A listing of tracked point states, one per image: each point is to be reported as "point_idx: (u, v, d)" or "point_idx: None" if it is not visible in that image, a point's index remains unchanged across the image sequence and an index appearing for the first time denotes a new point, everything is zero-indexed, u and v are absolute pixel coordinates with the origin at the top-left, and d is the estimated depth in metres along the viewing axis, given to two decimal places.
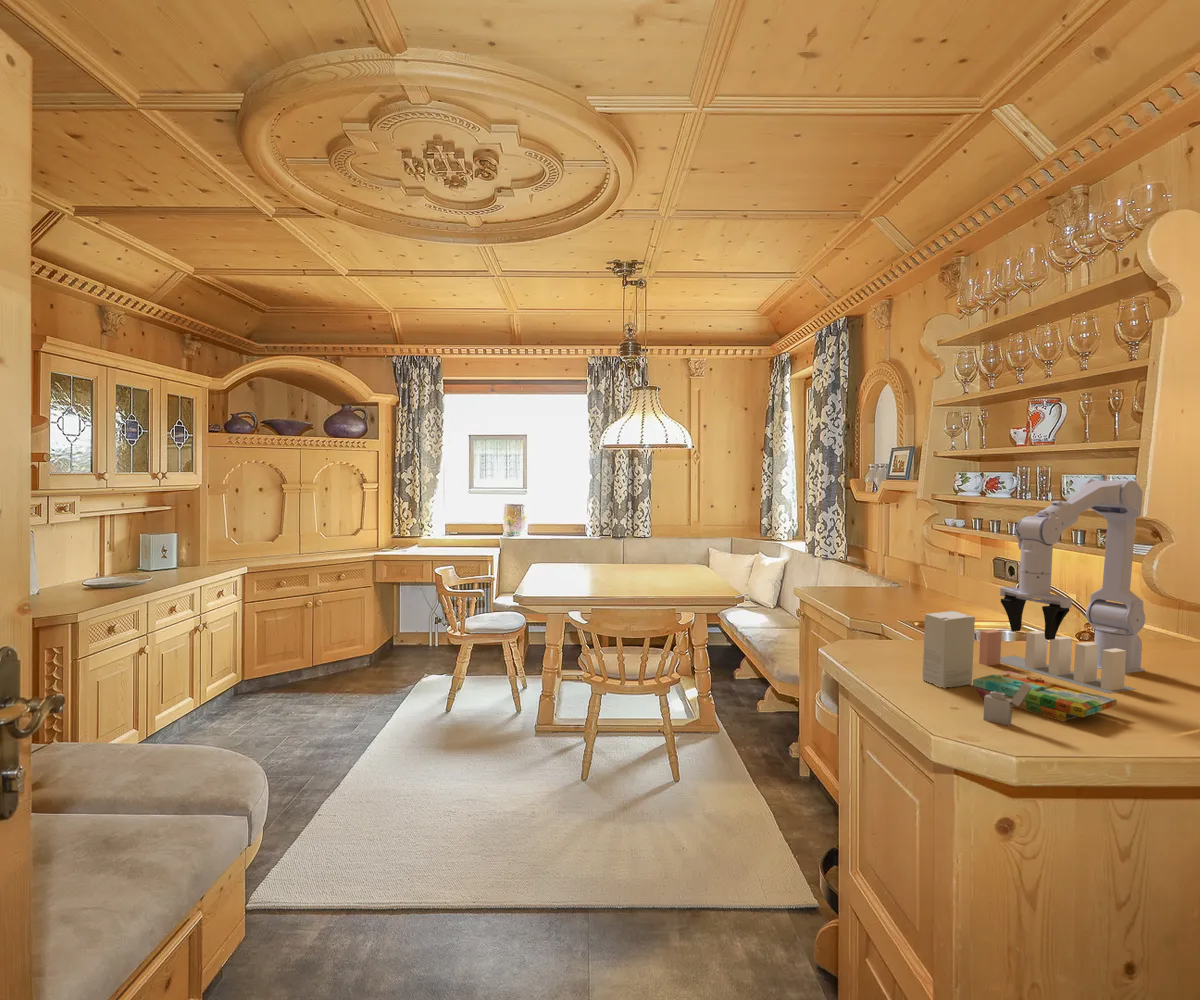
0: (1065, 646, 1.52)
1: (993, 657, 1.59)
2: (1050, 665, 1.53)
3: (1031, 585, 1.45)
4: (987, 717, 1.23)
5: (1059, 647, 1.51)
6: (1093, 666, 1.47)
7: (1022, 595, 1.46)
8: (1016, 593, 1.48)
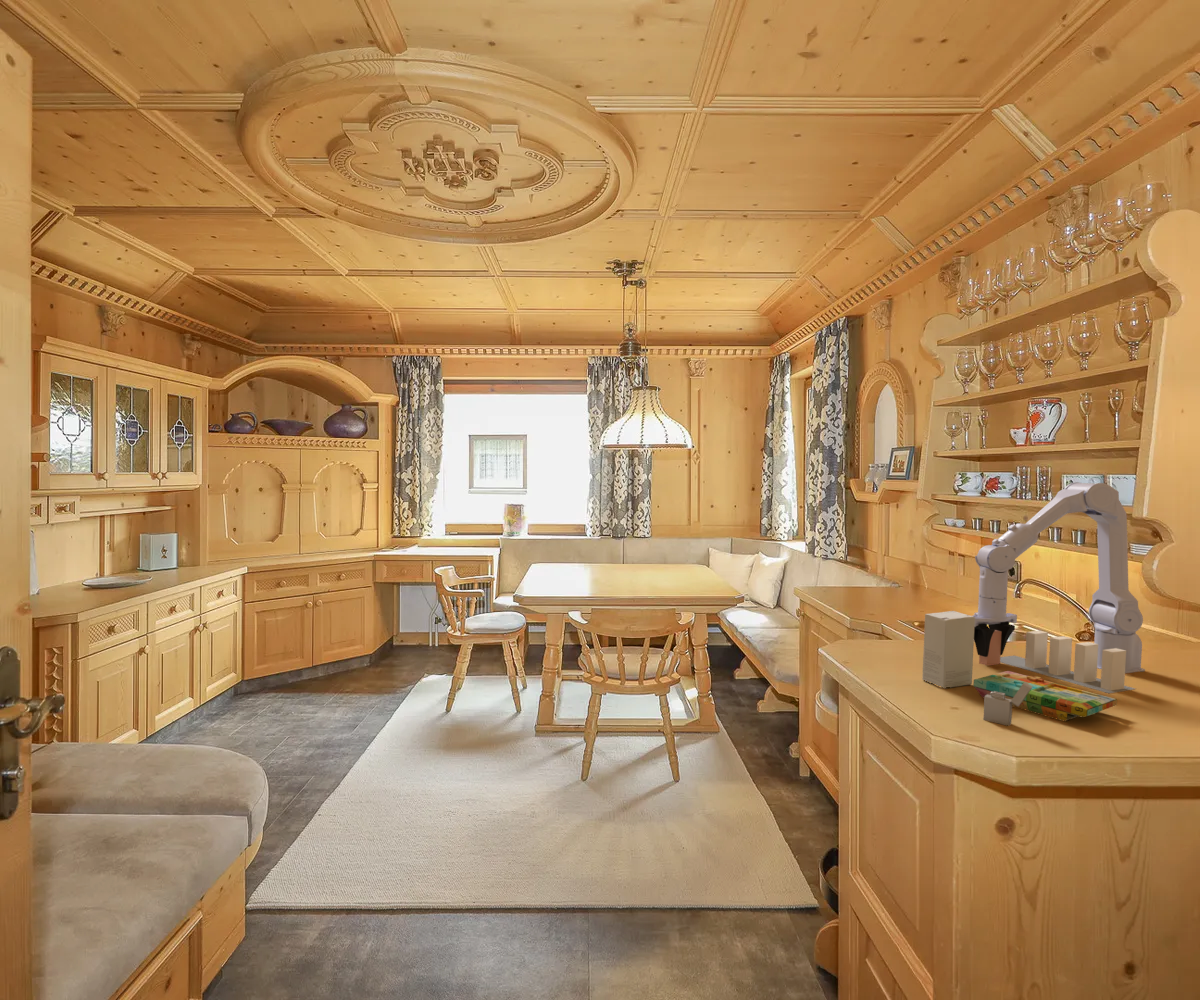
0: (1065, 646, 1.52)
1: (993, 657, 1.59)
2: (1050, 665, 1.53)
3: None
4: (987, 717, 1.23)
5: (1059, 647, 1.51)
6: (1093, 666, 1.47)
7: None
8: None
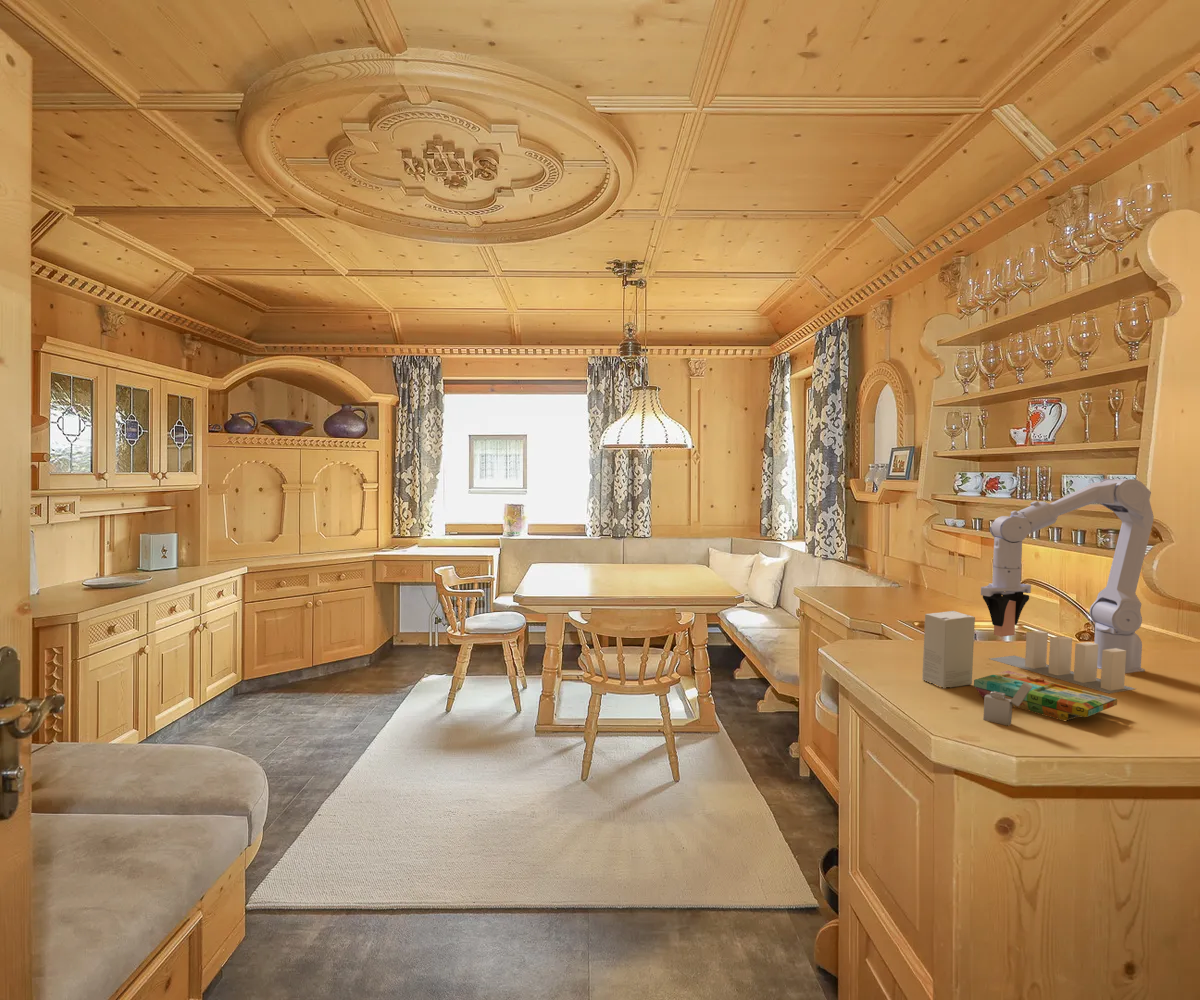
0: (1065, 646, 1.52)
1: (1008, 627, 1.60)
2: (1050, 665, 1.53)
3: None
4: (987, 717, 1.23)
5: (1059, 647, 1.51)
6: (1093, 666, 1.47)
7: None
8: None
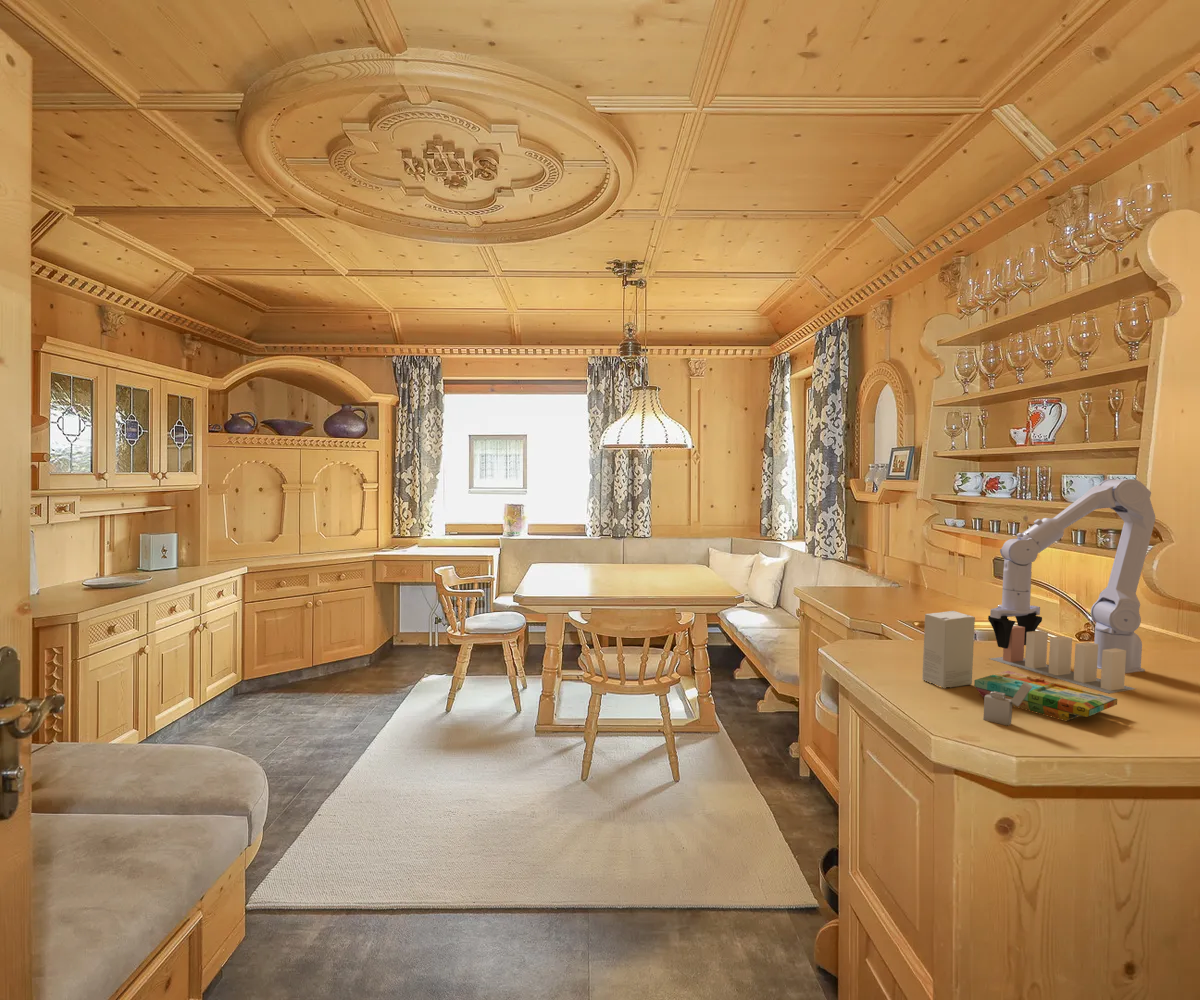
0: (1065, 646, 1.52)
1: (1017, 652, 1.62)
2: (1050, 665, 1.53)
3: None
4: (987, 717, 1.23)
5: (1059, 647, 1.51)
6: (1093, 666, 1.47)
7: None
8: None
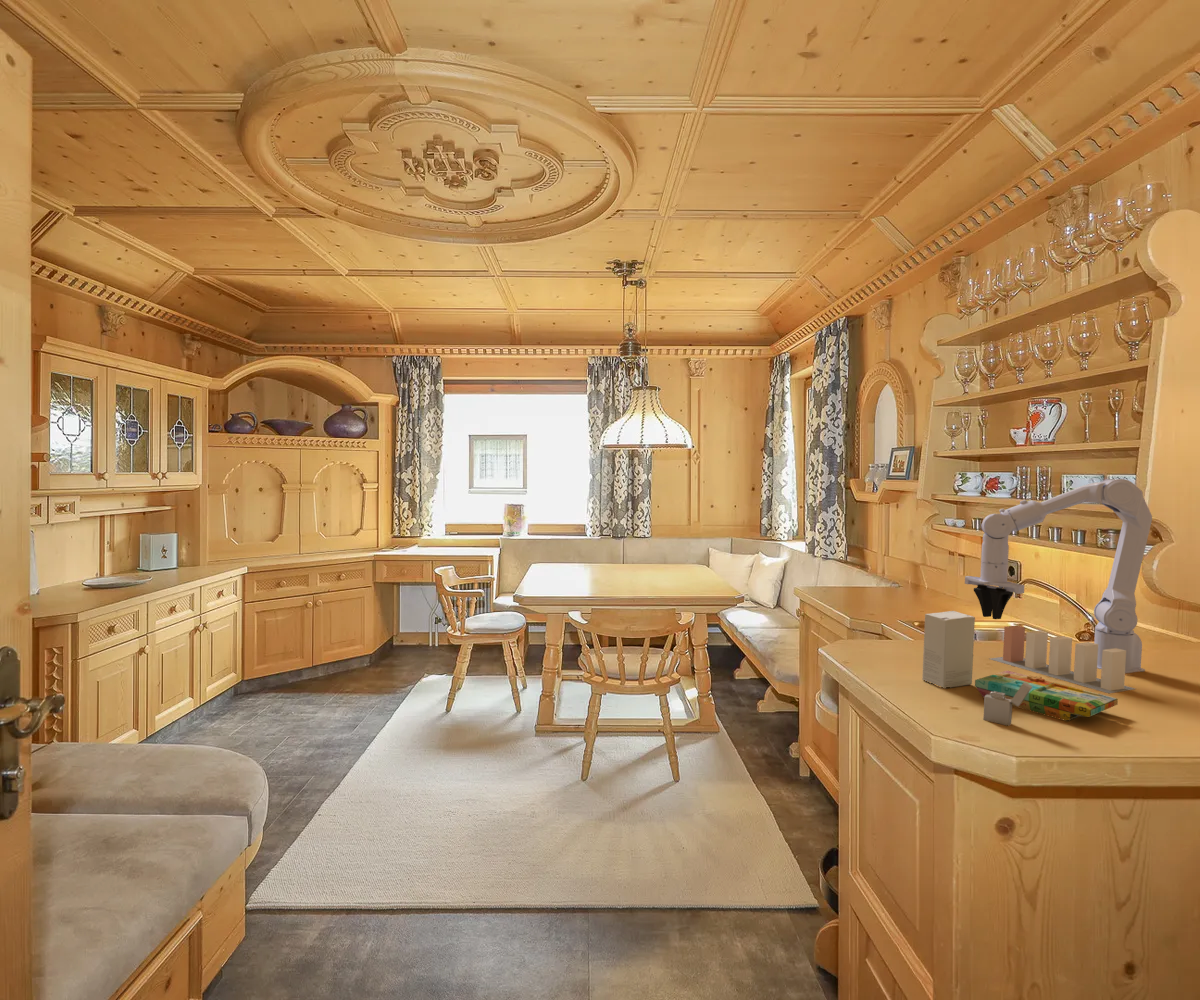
0: (1065, 646, 1.52)
1: (1017, 652, 1.62)
2: (1050, 665, 1.53)
3: (990, 574, 1.66)
4: (987, 717, 1.23)
5: (1059, 647, 1.51)
6: (1093, 666, 1.47)
7: (982, 582, 1.66)
8: (978, 581, 1.69)
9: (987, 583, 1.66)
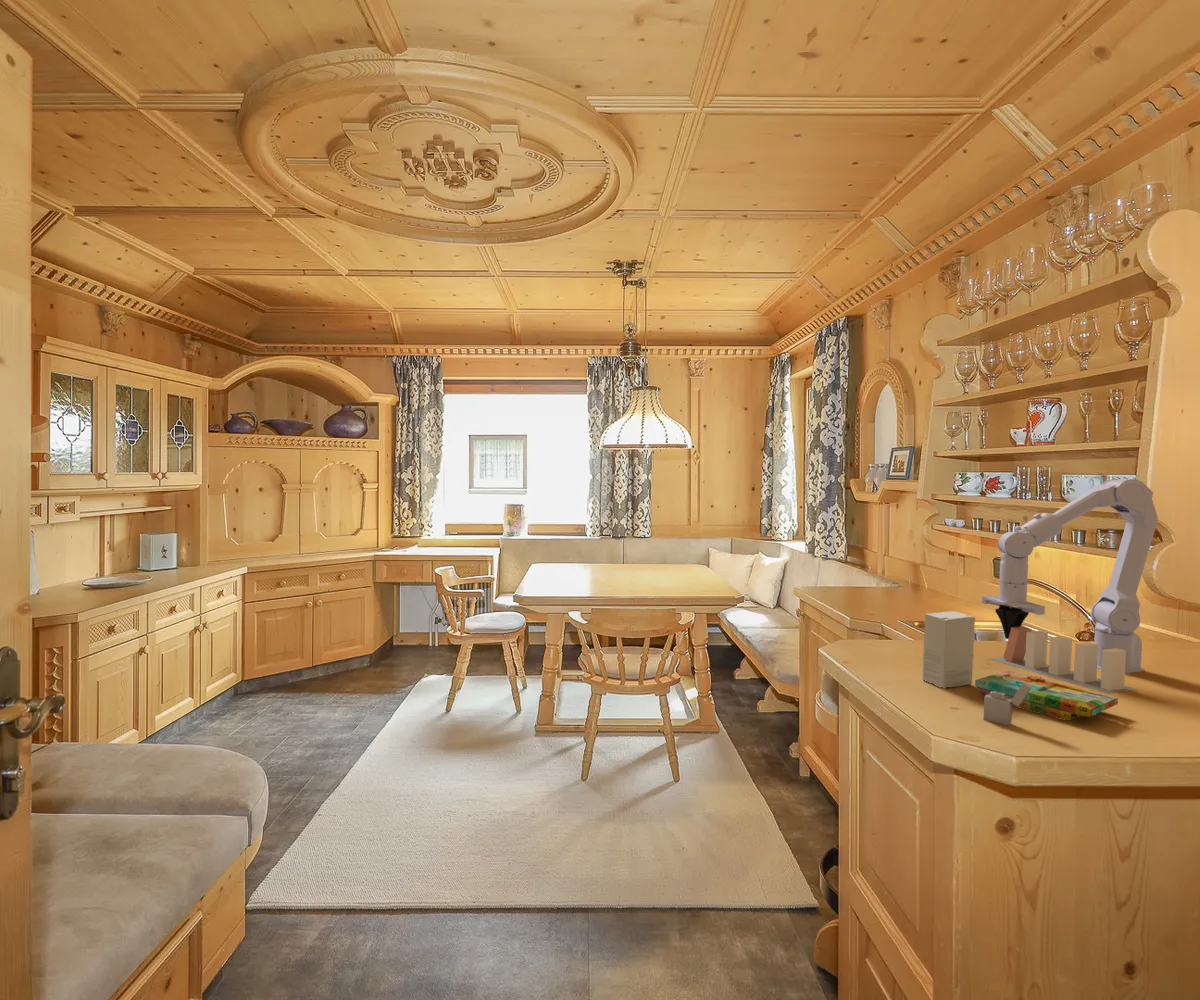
0: (1065, 646, 1.52)
1: (1019, 653, 1.62)
2: (1050, 665, 1.53)
3: (1009, 594, 1.61)
4: (987, 717, 1.23)
5: (1059, 647, 1.51)
6: (1093, 666, 1.47)
7: (1001, 603, 1.62)
8: (996, 601, 1.65)
9: (1006, 603, 1.61)
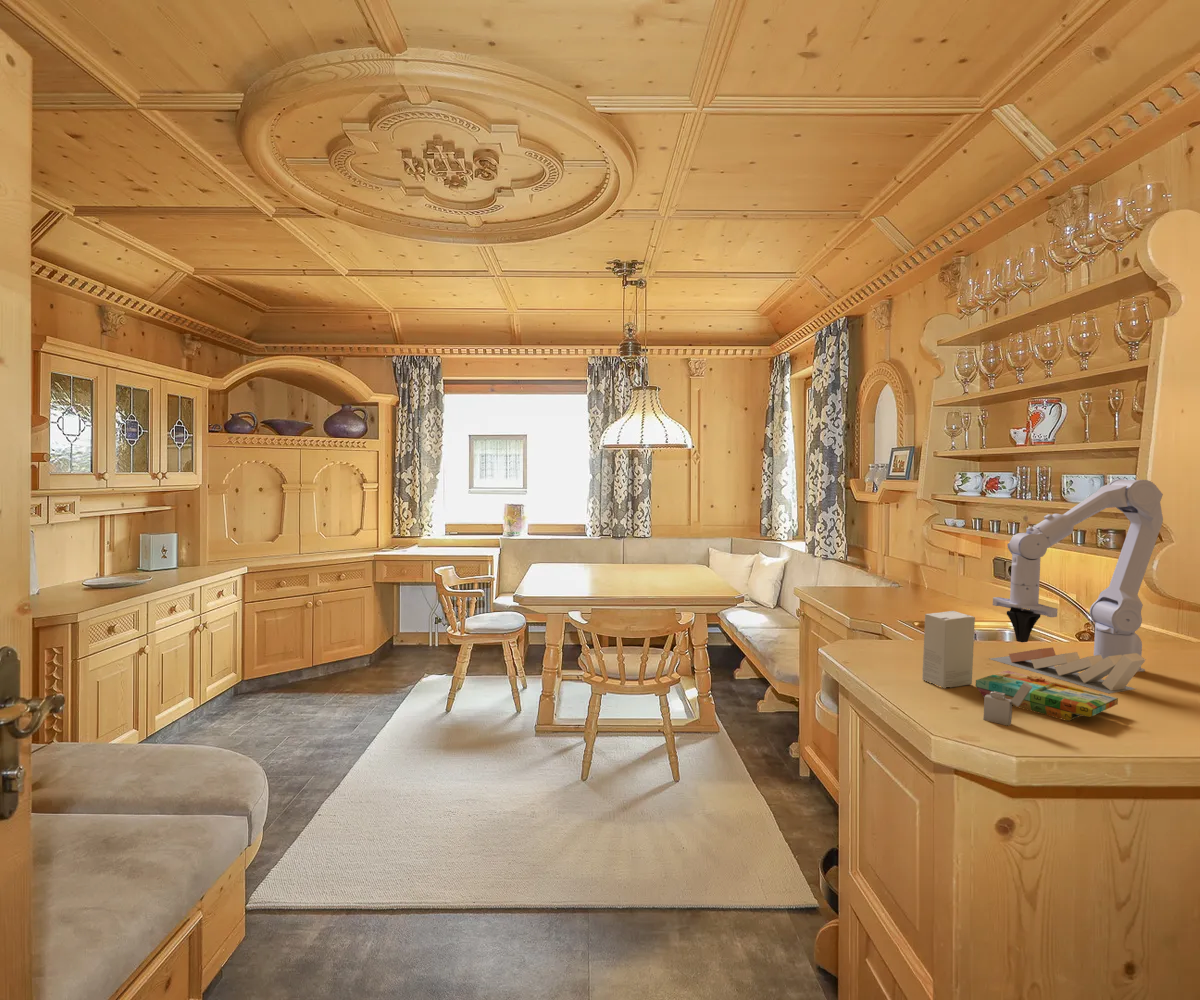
0: None
1: (1025, 660, 1.60)
2: (1062, 666, 1.50)
3: (1021, 596, 1.59)
4: (987, 717, 1.23)
5: (1086, 667, 1.46)
6: (1105, 674, 1.45)
7: (1012, 605, 1.59)
8: (1007, 603, 1.62)
9: (1018, 606, 1.59)
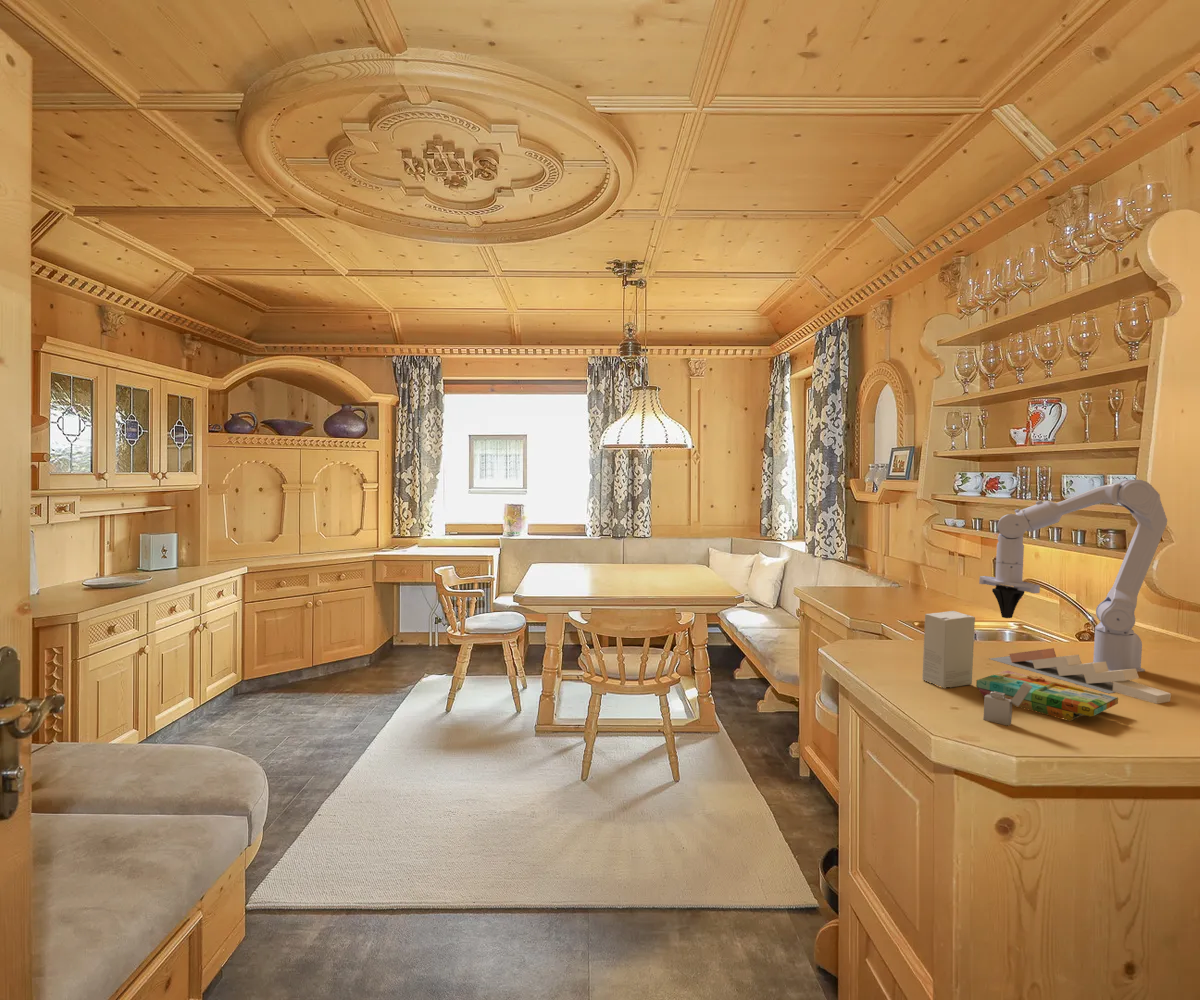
0: None
1: None
2: (1064, 667, 1.50)
3: (1005, 574, 1.67)
4: (987, 717, 1.23)
5: (1088, 673, 1.46)
6: None
7: (997, 582, 1.67)
8: (993, 581, 1.70)
9: (1002, 583, 1.66)
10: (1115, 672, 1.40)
